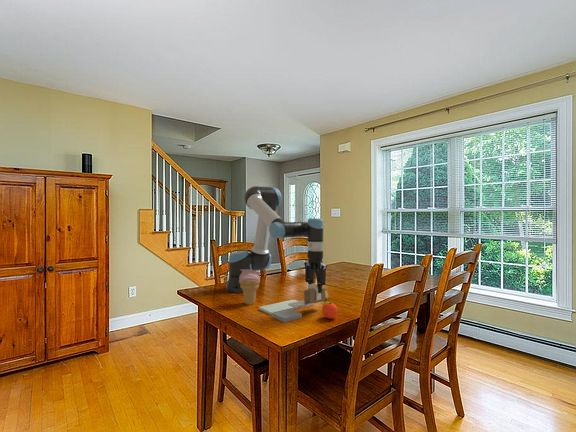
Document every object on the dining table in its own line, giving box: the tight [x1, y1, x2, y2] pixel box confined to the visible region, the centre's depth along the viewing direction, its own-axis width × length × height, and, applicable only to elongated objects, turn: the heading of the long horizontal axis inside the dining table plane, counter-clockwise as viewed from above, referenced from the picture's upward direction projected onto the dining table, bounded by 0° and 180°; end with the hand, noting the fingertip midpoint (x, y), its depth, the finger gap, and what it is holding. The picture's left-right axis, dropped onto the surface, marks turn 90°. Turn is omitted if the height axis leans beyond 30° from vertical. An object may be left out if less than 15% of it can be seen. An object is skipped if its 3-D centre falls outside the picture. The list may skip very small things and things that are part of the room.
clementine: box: [321, 301, 338, 320], centre depth 136 cm, size 8×7×7 cm
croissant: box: [314, 283, 329, 301], centre depth 173 cm, size 21×10×8 cm, turn 20°
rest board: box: [258, 299, 309, 316], centre depth 150 cm, size 11×22×1 cm, turn 129°
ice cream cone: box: [239, 264, 261, 306], centre depth 158 cm, size 11×11×20 cm
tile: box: [272, 309, 303, 323], centre depth 136 cm, size 8×2×10 cm
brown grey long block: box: [288, 288, 326, 310], centre depth 144 cm, size 19×6×6 cm, turn 129°
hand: (315, 298), depth 147 cm, fingers closed on brown grey long block, 4 cm apart
